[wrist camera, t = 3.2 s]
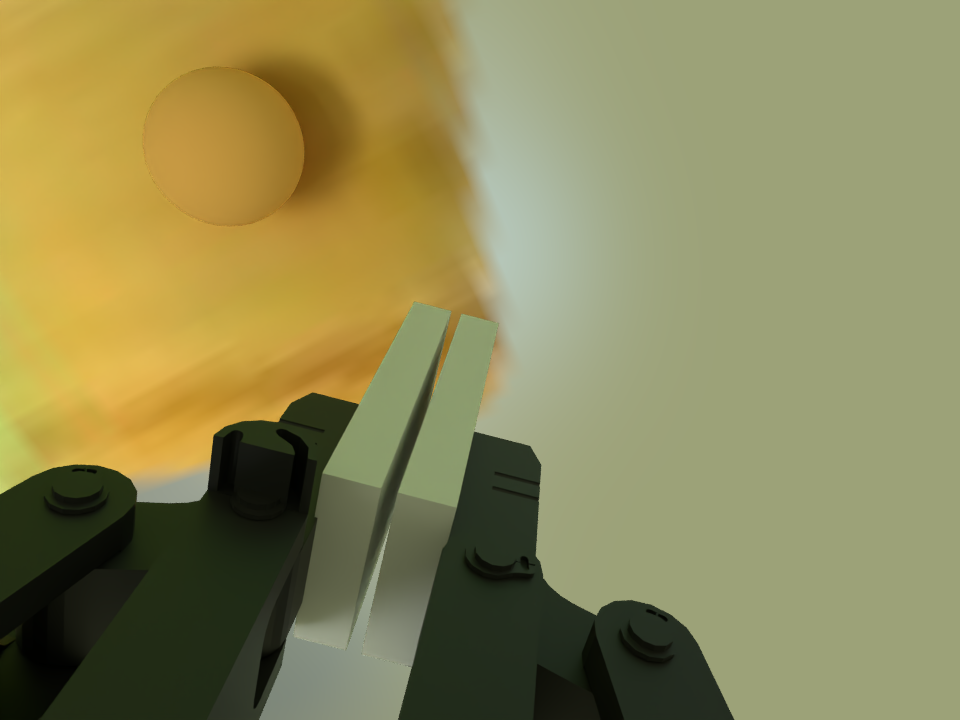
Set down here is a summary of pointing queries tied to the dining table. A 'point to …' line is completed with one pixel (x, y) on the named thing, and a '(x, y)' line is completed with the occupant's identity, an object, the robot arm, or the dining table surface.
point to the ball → (223, 146)
